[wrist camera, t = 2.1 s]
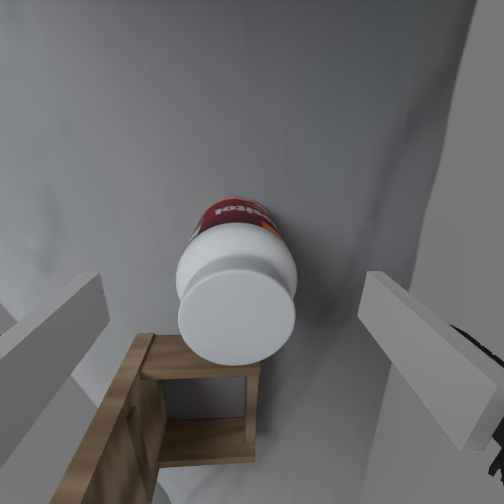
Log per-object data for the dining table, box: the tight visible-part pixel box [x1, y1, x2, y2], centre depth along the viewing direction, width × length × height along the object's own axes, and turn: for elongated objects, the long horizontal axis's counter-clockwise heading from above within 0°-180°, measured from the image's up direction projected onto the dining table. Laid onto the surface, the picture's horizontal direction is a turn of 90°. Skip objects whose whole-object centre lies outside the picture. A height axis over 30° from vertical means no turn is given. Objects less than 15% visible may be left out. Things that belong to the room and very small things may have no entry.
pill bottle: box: [176, 197, 297, 366], centre depth 15 cm, size 6×6×11 cm
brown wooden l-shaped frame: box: [49, 334, 261, 504], centre depth 21 cm, size 14×11×12 cm
